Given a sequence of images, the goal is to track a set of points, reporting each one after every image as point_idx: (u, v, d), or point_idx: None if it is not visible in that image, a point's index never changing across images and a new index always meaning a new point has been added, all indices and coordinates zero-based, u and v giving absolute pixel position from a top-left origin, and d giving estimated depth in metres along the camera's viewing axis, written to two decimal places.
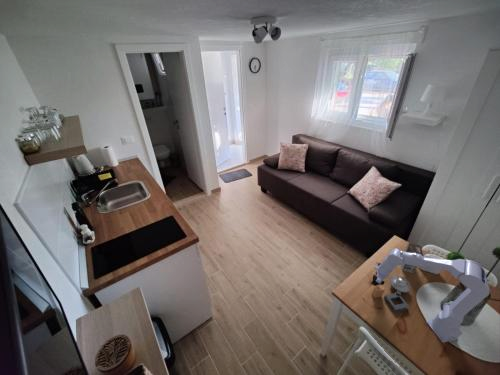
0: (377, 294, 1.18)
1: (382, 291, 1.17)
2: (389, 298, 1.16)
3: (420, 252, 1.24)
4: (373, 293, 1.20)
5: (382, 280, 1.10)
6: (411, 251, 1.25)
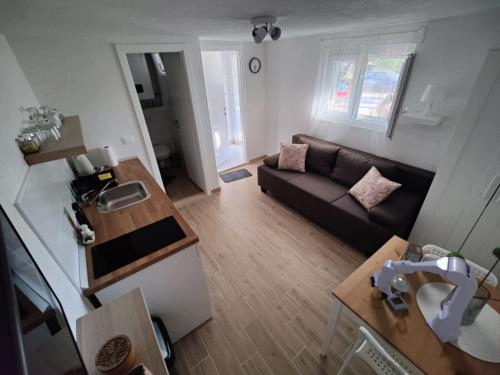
0: (377, 294, 1.18)
1: (382, 291, 1.17)
2: None
3: (420, 252, 1.24)
4: (373, 293, 1.20)
5: None
6: (411, 251, 1.25)
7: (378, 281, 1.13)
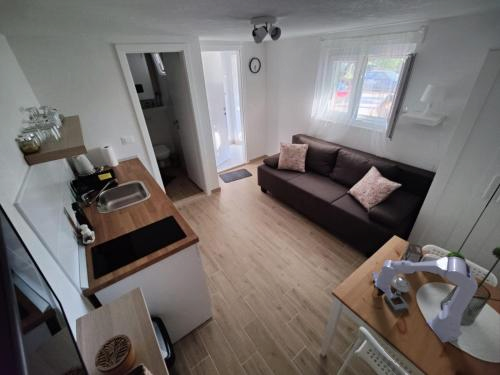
0: None
1: None
2: None
3: (420, 252, 1.24)
4: (373, 293, 1.20)
5: None
6: (411, 251, 1.25)
7: (378, 281, 1.13)
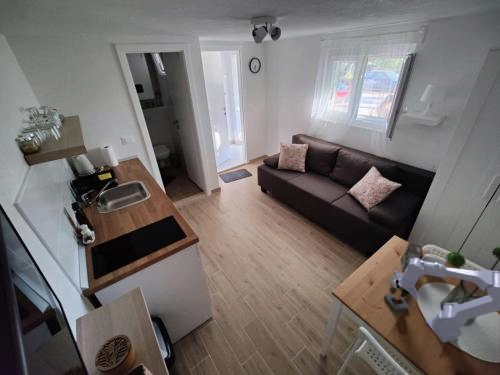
0: (400, 296, 1.10)
1: None
2: (389, 298, 1.16)
3: (420, 252, 1.24)
4: (395, 295, 1.12)
5: None
6: (411, 251, 1.25)
7: (402, 281, 1.05)
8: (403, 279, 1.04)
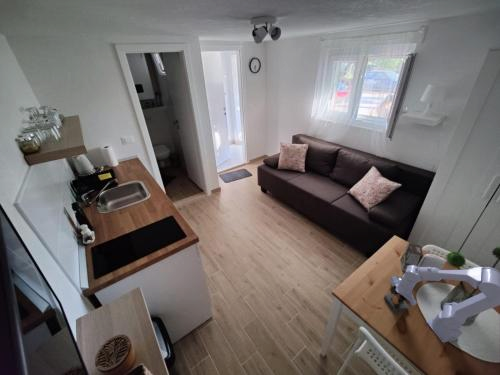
0: (397, 302, 1.13)
1: None
2: (389, 298, 1.16)
3: (420, 252, 1.24)
4: (392, 301, 1.15)
5: None
6: (411, 251, 1.25)
7: (400, 287, 1.08)
8: (400, 285, 1.07)
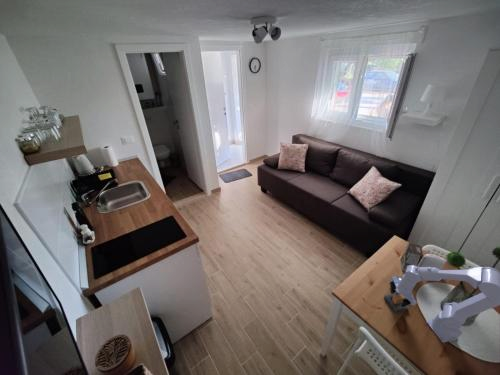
0: (396, 302, 1.13)
1: (402, 299, 1.12)
2: (389, 298, 1.16)
3: (420, 252, 1.24)
4: (392, 301, 1.15)
5: None
6: (411, 251, 1.25)
7: (400, 287, 1.08)
8: (400, 285, 1.07)
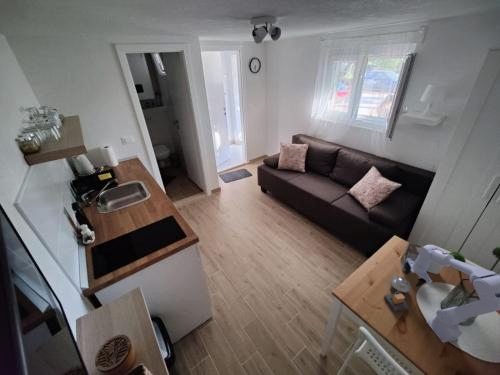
0: (396, 302, 1.13)
1: (402, 299, 1.12)
2: (389, 298, 1.16)
3: None
4: (392, 301, 1.15)
5: None
6: (411, 251, 1.25)
7: (415, 267, 1.11)
8: (415, 265, 1.10)
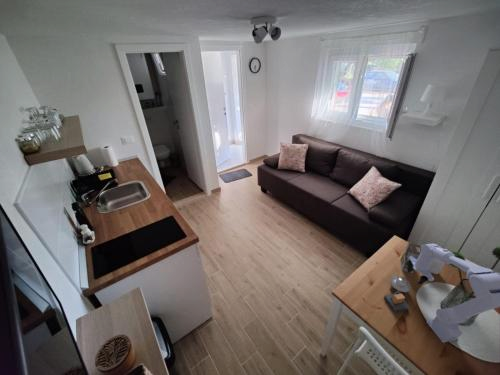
0: (396, 302, 1.13)
1: (402, 299, 1.12)
2: (389, 298, 1.16)
3: (420, 252, 1.24)
4: (392, 301, 1.15)
5: None
6: (411, 251, 1.25)
7: (417, 264, 1.12)
8: (418, 263, 1.11)
